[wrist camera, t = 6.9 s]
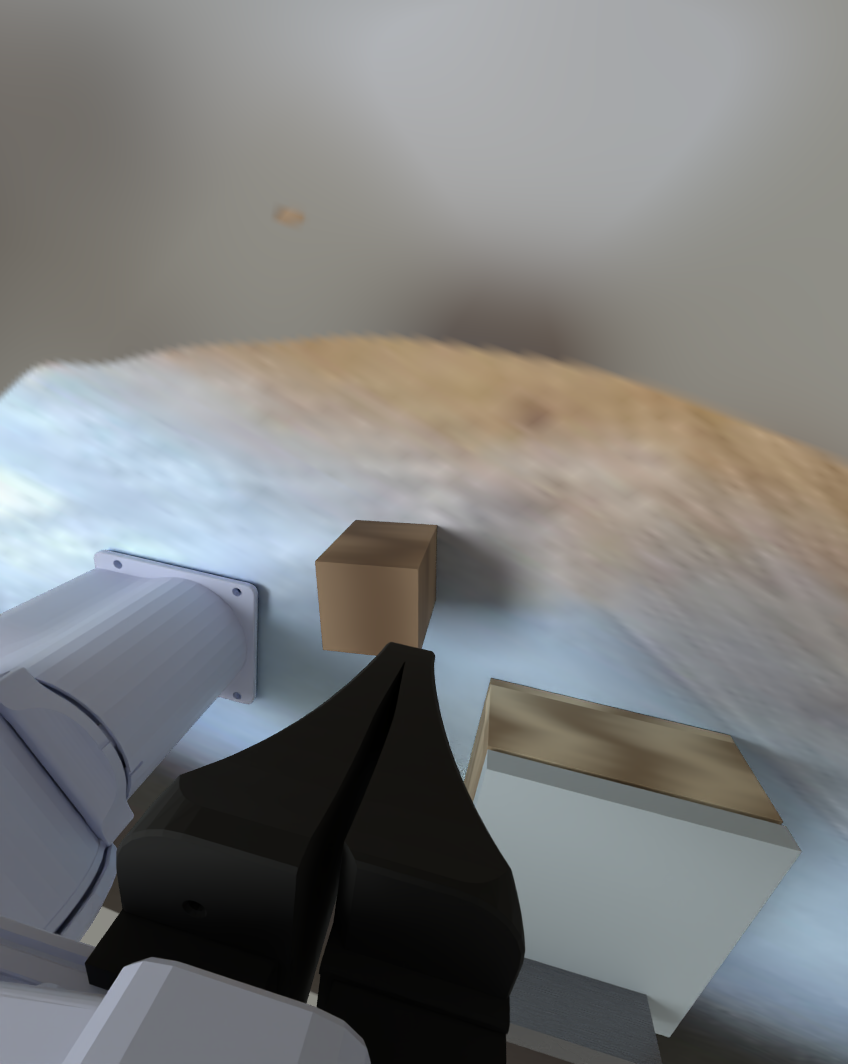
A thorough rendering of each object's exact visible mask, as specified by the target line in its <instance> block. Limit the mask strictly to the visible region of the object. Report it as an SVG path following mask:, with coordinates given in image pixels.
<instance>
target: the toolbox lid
mask: <svg viewBox="0 0 848 1064" xmlns="http://www.w3.org/2000/svg"><path fill="white" fill-rule="evenodd" d="M473 803H474V805H475V808H476V810H477V812H478V814H479V815H480V817H481V819H482V821H483V823H484V825H485V826H486V828H487V830H488V832H489V834H490V835H491V837H492V839H493V841H494V842H495V844H496V846H497V847H498V849H499V851H500V852H501V854H502V855H503V857H504V858H505V860H506V862H507V863H508V865H509V866H510V868H511V870H512V873H513V877H514V881H515V885H516V890H517V894H518V899H519V903H520V908H521V914H522V921H523V928H524V936H525V956H524V961H523V965H522V968H521V970H520V972H519V975H518V977H517V980H516V982H515V984H514V987H513V989H512V992H511V994H510V1027H509V1032H508V1034H506V1041H507V1042H510V1043H514V1044H517V1045H520V1046H523V1047H526V1048H529V1049H532V1050H535V1051H538V1052H541V1053H544V1054H547V1055H550V1056H553V1057H556V1058H559V1059H562V1060H566V1061H569V1062H572V1063H575V1064H662V1061H661V1056H660V1052H659V1047H658V1043H657V1039H656V1034H655V1033H657V1034H660V1035H663V1036H667V1037H670V1036H671V1034H672V1033H673V1032H674V1030H675V1029H676V1027H677V1026H678V1025H679V1023H680V1022H681V1020H682V1019H683V1018H684V1016H685V1015H686V1013H687V1012H688V1011H689V1009H690V1008H691V1006H692V1005H693V1004H694V1002H695V1001H696V999H697V998H698V997H699V995H700V994H701V992H702V991H703V990H704V988H705V987H706V985H707V984H708V983H709V981H710V980H711V978H712V977H713V976H714V974H715V973H716V971H717V970H718V969H719V967H720V966H721V964H722V963H723V962H724V960H725V959H726V957H727V956H728V954H729V953H730V952H731V950H732V949H733V947H734V946H735V945H736V943H737V942H738V940H739V939H740V938H741V936H742V935H743V933H744V932H745V931H746V929H747V928H748V926H749V925H750V924H751V922H752V921H753V919H754V918H755V917H756V915H757V914H758V912H759V911H760V910H761V908H762V907H763V905H764V904H765V903H766V901H767V900H768V898H769V897H770V896H771V894H772V893H773V891H774V890H775V889H776V887H777V886H778V884H779V883H780V882H781V880H782V879H783V877H784V876H785V875H786V873H787V872H788V870H789V869H790V868H791V866H792V865H793V863H794V862H795V861H796V859H797V858H798V856H799V855H800V854H801V852H802V851H801V850H800V848H799V846H798V845H797V843H796V842H795V840H794V838H793V837H792V835H791V833H790V832H789V830H788V829H787V827H786V826H783V825H779V824H775V823H771V822H768V821H764V820H760V819H756V818H752V817H748V816H744V815H740V814H737V813H733V812H729V811H725V810H721V809H717V808H713V807H709V806H706V805H702V804H698V803H694V802H690V801H686V800H682V799H678V798H675V797H671V796H667V795H663V794H659V793H655V792H651V791H647V790H644V789H640V788H636V787H632V786H628V785H624V784H620V783H616V782H613V781H609V780H605V779H601V778H597V777H593V776H589V775H585V774H582V773H578V772H574V771H570V770H566V769H562V768H558V767H554V766H551V765H547V764H543V763H539V762H535V761H531V760H527V759H523V758H520V757H516V756H512V755H508V754H504V753H500V752H496V751H492V750H487V754H486V757H485V761H484V764H483V768H482V771H481V775H480V779H479V782H478V786H477V789H476V793H475V797H474V800H473Z"/></svg>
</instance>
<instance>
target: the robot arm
mask: <svg viewBox="0 0 848 1064" xmlns="http://www.w3.org/2000/svg"><path fill="white" fill-rule="evenodd" d="M94 562H95V569H93V570H91V571H88V572H86V573H84V574H82V575H80V576H78V577H76V578H74V579H72V580H70V581H68V582H66V583H64V584H61V585H59V586H57V587H55V588H53V589H51V590H49V591H47V592H45V593H43V594H41V595H39V596H37V597H34V598H32V599H30V600H28V601H26V602H24V603H22V604H20V605H18V606H16V607H14V608H12V609H9V610H7V611H5V612H3V613H1V614H0V1064H506V1034H508V1032H509V1027H510V994H511V992H512V989H513V987H514V984H515V982H516V980H517V977H518V975H519V972H520V970H521V968H522V965H523V961H524V956H525V936H524V928H523V921H522V914H521V908H520V903H519V899H518V894H517V890H516V885H515V881H514V877H513V873H512V870H511V868H510V866H509V865H508V863H507V862H506V860H505V858H504V857H503V855H502V854H501V852H500V851H499V849H498V847H497V846H496V844H495V842H494V841H493V839H492V837H491V835H490V834H489V832H488V830H487V828H486V826H485V825H484V823H483V821H482V819H481V817H480V815H479V814H478V812H477V810H476V808H475V805H474V803H473V801H472V799H471V797H470V795H469V793H468V791H467V788H466V786H465V784H464V782H463V780H462V778H461V775H460V773H459V770H458V768H457V765H456V762H455V760H454V757H453V754H452V751H451V749H450V746H449V742H448V739H447V736H446V732H445V729H444V725H443V721H442V717H441V713H440V709H439V703H438V698H437V692H436V685H435V675H434V660H435V655H434V653H433V652H432V651H428V650H424V649H420V648H416V647H411V646H407V645H403V644H399V643H394V642H390V643H388V644H386V646H385V647H384V648H383V649H382V650H381V652H380V653H379V654H378V655H377V656H376V657H375V658H374V659H373V660H372V661H371V662H370V663H369V664H368V665H367V666H366V667H365V668H364V669H363V670H362V671H361V672H360V673H359V674H358V675H357V676H356V677H354V678H353V679H352V680H351V681H350V682H349V683H348V684H347V685H345V686H344V687H343V688H342V689H341V690H339V691H338V692H337V693H336V694H334V695H333V696H332V697H331V698H330V699H328V700H327V701H326V702H324V703H323V704H322V705H320V706H319V707H317V708H316V709H315V710H313V711H312V712H310V713H309V714H307V715H306V716H304V717H303V718H301V719H300V720H298V721H297V722H295V723H293V724H292V725H290V726H288V727H287V728H285V729H283V730H282V731H280V732H278V733H276V734H274V735H273V736H271V737H269V738H267V739H265V740H263V741H261V742H259V743H257V744H255V745H253V746H251V747H249V748H247V749H245V750H243V751H240V752H238V753H236V754H234V755H232V756H229V757H227V758H225V759H222V760H219V761H217V762H214V763H211V764H209V765H206V766H203V767H201V768H198V769H195V770H193V771H190V772H187V773H184V774H181V775H179V776H178V777H177V778H176V779H175V781H174V782H173V783H172V784H171V785H170V786H169V787H168V788H167V789H166V790H165V791H164V792H163V793H162V794H161V795H160V796H159V797H158V798H157V799H156V800H155V801H154V802H153V803H152V805H151V806H150V807H149V808H148V809H147V811H146V812H145V813H144V814H143V816H142V817H141V818H140V819H139V820H138V822H137V823H136V824H135V825H134V827H133V828H132V829H131V830H130V832H129V833H128V834H127V835H126V836H125V838H124V839H123V840H122V841H121V843H120V845H119V847H118V849H116V846H115V845H114V844H113V841H114V840H115V839H116V838H117V837H118V835H119V834H120V833H121V832H122V831H123V829H124V828H125V827H126V826H127V825H128V823H129V822H130V821H131V820H132V819H133V817H134V814H133V813H132V811H131V810H130V808H129V806H128V803H127V800H128V799H129V797H130V796H131V795H132V794H133V793H134V792H135V791H136V789H137V788H138V787H139V786H140V785H141V784H142V783H143V782H144V780H145V779H146V778H147V777H148V776H149V775H150V774H151V772H152V771H153V770H154V769H155V768H156V767H157V766H158V764H159V763H160V762H161V761H162V760H163V759H164V758H165V757H166V755H167V754H168V753H169V752H170V751H171V750H172V749H173V747H174V746H175V745H176V744H177V743H178V742H179V741H180V739H181V738H182V737H183V736H184V735H185V734H186V733H187V732H188V730H189V729H190V728H191V727H192V726H193V725H194V724H195V722H196V721H197V720H198V719H199V718H200V717H201V716H202V715H203V713H204V712H205V711H206V710H207V709H208V708H209V707H210V705H211V704H212V703H213V702H214V701H215V700H216V699H217V697H221V698H225V699H229V700H233V701H236V702H240V703H244V704H251V703H252V702H253V701H254V700H255V698H256V677H257V617H258V591H257V589H256V587H255V586H254V585H253V584H250V583H247V582H242V581H238V580H234V579H229V578H225V577H221V576H216V575H212V574H208V573H203V572H199V571H195V570H190V569H186V568H182V567H177V566H173V565H169V564H165V563H160V562H156V561H152V560H147V559H143V558H139V557H134V556H130V555H126V554H121V553H117V552H113V551H108V550H101V551H99V552H97V553H95V555H94ZM120 562H121V563H122V564H121V563H120ZM237 588H238V589H240V591H241V593H240V592H238V591H237ZM239 693H240V694H239ZM116 872H117V876H118V883H119V889H120V895H121V902H122V908H123V909H122V911H121V912H120V914H119V915H118V916H117V918H116V919H115V921H114V922H113V923H112V925H111V926H110V928H109V929H108V931H107V932H106V934H105V935H104V936H103V938H102V939H101V940H100V942H99V943H98V945H97V946H96V947H94V946H91V945H88V944H85V943H82V942H79V941H80V940H81V939H82V937H83V936H84V934H85V933H86V931H87V930H88V929H89V927H90V926H91V924H92V923H93V921H94V919H95V917H96V916H97V914H98V912H99V910H100V909H101V907H102V904H103V902H104V900H105V898H106V896H107V894H108V892H109V890H110V888H111V885H112V883H113V880H114V878H115V875H116ZM336 897H337V900H336ZM335 901H336V908H335V915H334V923H333V926H332V929H331V932H330V935H329V939H328V942H327V945H326V948H325V952H324V955H323V958H322V961H321V965H320V969H319V974H321V975H320V983H319V992H318V1000H317V1007H315V1006H312V1005H309V1004H306V1003H307V999H308V996H309V992H310V989H311V985H312V982H313V978H314V974H315V971H316V967H317V964H318V960H319V957H320V953H321V950H322V946H323V943H324V939H325V936H326V932H327V929H328V925H329V922H330V918H331V915H332V911H333V908H334V904H335Z"/></svg>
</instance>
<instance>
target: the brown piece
mask: <svg viewBox="0 0 848 1064" xmlns="http://www.w3.org/2000/svg"><path fill="white" fill-rule="evenodd" d="M487 750H492V751H496V752H500V753H504V754H508V755H512V756H516V757H520V758H523V759H527V760H531V761H535V762H539V763H543V764H547V765H551V766H554V767H558V768H562V769H566V770H570V771H574V772H578V773H582V774H585V775H589V776H593V777H597V778H601V779H605V780H609V781H613V782H616V783H620V784H624V785H628V786H632V787H636V788H640V789H644V790H647V791H651V792H655V793H659V794H663V795H667V796H671V797H675V798H678V799H682V800H686V801H690V802H694V803H698V804H702V805H706V806H709V807H713V808H717V809H721V810H725V811H729V812H733V813H737V814H740V815H744V816H748V817H752V818H756V819H760V820H764V821H768V822H771V823H775V824H779V825H781V824H782V822H783V821H782V819H781V817H780V816H779V814H778V812H777V811H776V809H775V808H774V806H773V804H772V803H771V801H770V799H769V798H768V796H767V795H766V793H765V791H764V790H763V788H762V787H761V785H760V783H759V782H758V780H757V778H756V777H755V775H754V774H753V772H752V770H751V769H750V767H749V765H748V764H747V762H746V761H745V759H744V757H743V756H742V754H741V752H740V751H739V749H738V748H737V746H736V744H735V743H734V741H733V740H732V738H731V736H730V735H726V734H722V733H717V732H713V731H709V730H705V729H701V728H697V727H692V726H688V725H684V724H680V723H676V722H672V721H667V720H663V719H659V718H655V717H651V716H647V715H643V714H638V713H634V712H630V711H626V710H622V709H618V708H613V707H609V706H605V705H601V704H597V703H593V702H589V701H584V700H580V699H576V698H572V697H568V696H564V695H559V694H555V693H551V692H547V691H543V690H539V689H534V688H530V687H526V686H522V685H518V684H514V683H510V682H505V681H501V680H497V679H493V678H491V680H490V684H489V687H488V691H487V695H486V699H485V703H484V707H483V710H482V714H481V718H480V722H479V726H478V730H477V733H476V737H475V741H474V745H473V749H472V753H471V756H470V760H469V764H468V768H467V772H466V776H465V779H464V784H465V786H466V788H467V791H468V793H469V795H470V797H471V799H472V801H473V800H474V797H475V793H476V789H477V786H478V782H479V779H480V775H481V771H482V768H483V764H484V761H485V757H486V754H487Z"/></svg>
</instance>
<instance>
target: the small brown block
mask: <svg viewBox="0 0 848 1064" xmlns="http://www.w3.org/2000/svg"><path fill="white" fill-rule="evenodd" d="M436 555H437V525H426V524H410V523H394V522H378V521H362V520H355V521H354V522H353V523H352V524H351V525H350V526H349V527H348V528H347V529H346V530H345V531H344V532H343V533H342V534H341V535H340V536H339V537H338V539H337V540H336V541H335V542H334V543H333V544H332V545H331V546H330V547H329V548H328V549H327V550H326V551H325V552H324V553H323V554H322V555H321V556H320V557H319V558H318V559H317V560H316V561H315V566H316V577H317V588H318V600H319V611H320V622H321V634H322V645H323V650H329V651H338V652H347V653H357V654H366V655H375V656H377V655H378V654H379V653H380V652H381V650H382V649H383V648H384V647H385V646H386V644H388V643H390V642H394V643H399V644H403V645H407V646H411V647H416V648H420V649H422V645H423V642H424V639H425V635H426V632H427V628H428V625H429V622H430V618H431V615H432V611H433V608H434V604H435V601H436Z"/></svg>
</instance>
